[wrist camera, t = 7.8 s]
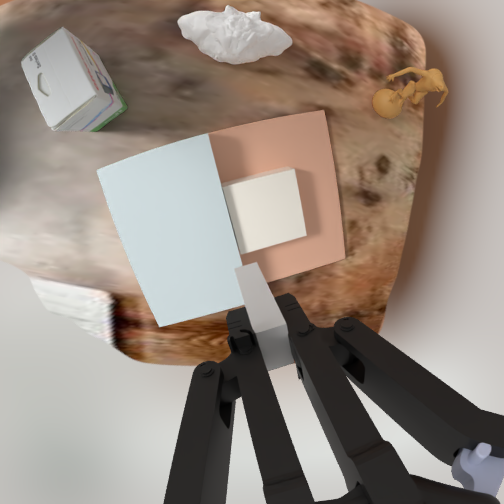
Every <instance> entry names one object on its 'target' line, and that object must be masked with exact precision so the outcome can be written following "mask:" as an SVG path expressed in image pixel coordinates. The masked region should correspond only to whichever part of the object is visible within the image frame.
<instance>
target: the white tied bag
mask: <svg viewBox="0 0 504 504" xmlns="http://www.w3.org/2000/svg"><path fill="white" fill-rule="evenodd" d="M260 15H261V13H260V12H255V11H252V12H248V13H244V12H240V11H238V10H236V9H235V8H234V7H230V6H229V5H227V6H226V7H225V11H224V12H222V13H220V12H212V11H196V12H193V13H190V14H187V15H183V16H182V17H180V18H179V20H178V25H179V27H180V29H181V31H182V35H183V37H184V38H186V39H188V40H191V41H193V42H194V43H195V44H196V45H197V46H198V48H199V50H200V51H201V52H202V53H204V54H206V55H209V56H210V57H212V58H213V59H214V60H217V61H218V62H228V63H230V64H241V63H246V62H254V61H257V60H258V59H259V58H262V57H266V56H277V55H280V54H281V53H282V52H283V51H284V50H285V49H287V48H288V47H290V46H291V45H292V39H291V37H290V36H289V35H287V34H286V33H285V32H284V31H283V30H282V29H281V28H279V27H278V26H275V25H273V24H271V23H266V22H264V21H261V19H260Z"/></svg>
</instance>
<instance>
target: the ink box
mask: <svg viewBox="0 0 504 504" xmlns="http://www.w3.org/2000/svg"><path fill="white" fill-rule="evenodd" d="M21 64H22V69H23V70H24V73H25V76H26V79H27V81H28V82H29V85H30V87H31V90H32V93H33V95H34V97H35V99H36V101H37V103H38V106H39V109H40V111H41V113H42V115H43V116H44V118H45V121H46V123H47V125H48V126H49V127H51V129H52V130H53V131H90V132H97V131H98V130H99V129H101V128H102V127H103V126H105V125H106V124H107V123H109V122H110V121H111V120H113V119H114V118H116V117H117V116H118V115H120V114H121V113H123V112H124V111H125V110H126V109H127V105H126V104H125V102H124V100H123V98H122V97H121V95H120V93H119V92H118V90H117V88H116V86H115V85H114V83H113V81H112V79H111V78H110V76H109V74H108V72H107V70H106V69H105V67H104V65H103V63H102V61H101V59H100V57H99V55H98V54H96V53H95V52H94V51H93V50H92V49H91V48H89V47H88V46H87V45H86V44H85V43H83V42H82V41H81V40H79V39H78V38H77V37H76V36H74V35H73V34H72V33H71V32H69V31H68V30H67V29H65V28H64V27H61V28H59V29H58V30H57V31H55V32H54V33H52V34H51V35H50V36H48V37H47V38H46V39H44V40H43V41H42V42H41V43H40V44H38V45H37V46H36V47H35V48H34V49H32V50H31V51H30V52H29V53H28V54H27V55H26V56H25V57H24V58H23V59H22V61H21Z"/></svg>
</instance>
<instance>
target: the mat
mask: <svg viewBox="0 0 504 504" xmlns="http://www.w3.org/2000/svg"><path fill="white" fill-rule="evenodd" d="M208 136H209V140H210V144H211V148H212V152H213V156H214V160H215V163H216V167H217V171H218V175H219V179H220V183H224V182H228V181H231V180H235V179H239V178H243V177H246V176H250V175H254V174H258V173H262V172H266V171H270V170H274V169H278V168H283V167H287V166H288V167H291V168H293V169H295V174H296V179H297V184H298V189H299V195H300V200H301V206H302V211H303V217H304V222H305V228H306V234H307V236H303V237H300V238H296V239H293V240H290V241H286V242H283V243H279V244H276V245H272V246H269V247H265V248H262V249H259V250H255V251H252V252H248V253H245V254H240V251H239V248H238V251H239V254H240V258H241V262H242V265H243V266H245V265H248V264H252V263H255V262H257V264H258V266H259V268H260V270H261V272H262V274H263V276H264V278H265V280H266V282H267V283H268V282H271V281H274V280H278V279H281V278H284V277H288V276H291V275H294V274H298V273H301V272H304V271H307V270H311V269H314V268H317V267H320V266H323V265H327V264H330V263H333V262H336V261H339V260H342V259H345V248H344V238H343V228H342V219H341V211H340V202H339V195H338V187H337V180H336V174H335V167H334V161H333V155H332V149H331V143H330V138H329V132H328V127H327V122H326V117H325V112H324V110H320V111H313V112H307V113H300V114H294V115H288V116H282V117H277V118H272V119H266V120H261V121H257V122H252V123H247V124H243V125H238V126H234V127H230V128H226V129H222V130H218V131H214V132H210V133H208ZM226 206H227V205H226ZM229 217H230V216H229ZM230 221H231V220H230ZM232 228H233V227H232ZM233 232H234V231H233ZM234 236H235V235H234ZM235 239H236V238H235ZM236 243H237V242H236ZM237 247H238V245H237Z"/></svg>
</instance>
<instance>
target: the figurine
mask: <svg viewBox="0 0 504 504" xmlns="http://www.w3.org/2000/svg"><path fill="white" fill-rule="evenodd" d="M408 72H413V73H416V74H419V75H421V76H423V77H422V78H421V79H420V80H419V81H418V82H417V83H415V82H414V81H410V82H409V83H408V85H407V86H406V87H405V88H404V90H402V89H398V90H397V91H396V92H394V91H393V90H390V89H381V90H379V91H377V92H376V93H375V94H374V96H373V99H372V104H373V108H374V110H375V111H376V113H377V114H379V115H380V116H381V117H384V118H394V117H396V116H398V115H399V114H400V112H401V110H402V105H403V102H404V101H405V100H406V99H407V98H409V99H410V100H411V102H412V103H414V104H418V102H419V101H420V100H421V98H422V97H423V96H425V95H426V94H427V93H428V91H432V92H434V91H438V92H440V91H444V93H443V95H442V97H441V101H440V103H439V104H438V105H437V106H436V107H438V106H439V105H441V104H442V103H443V101H444V99H445V97H446V95H447V94H448V89H447V87H446V85H445V83H444V81H443V75H442V73H441V72H440V71H439V70H438V69H430V70H428V71H426V70H420V69H417V68H413V67H408V68H406V69H404V70H401V71H399V72H397V73H395V74H391V75H389V76H387V77H389V78H387V77H386V78H387V80H388V79H389V81H390V80H391V79H392V82H393V81H394V77H396V76H400V75H403V74H405V73H408ZM389 81H388V82H389ZM415 90H416V92H415ZM414 92H415V93H414ZM398 94H400V96H401V97H402V98H400V96H399V95H398ZM412 94H414V96H413V95H412Z"/></svg>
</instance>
